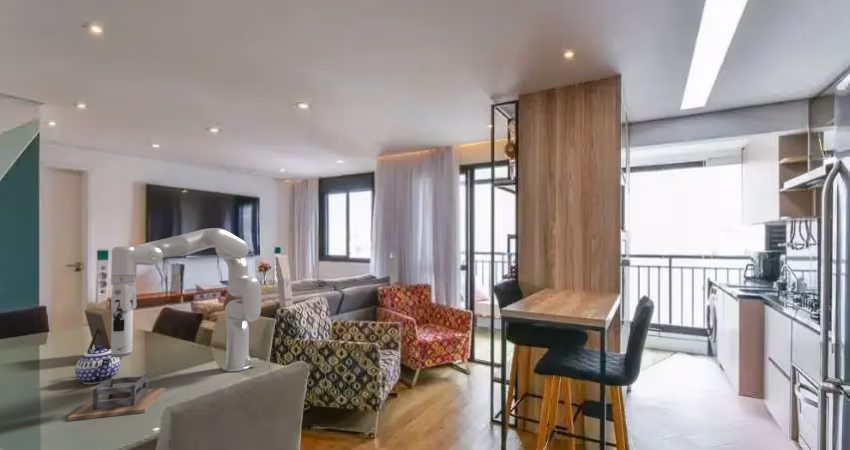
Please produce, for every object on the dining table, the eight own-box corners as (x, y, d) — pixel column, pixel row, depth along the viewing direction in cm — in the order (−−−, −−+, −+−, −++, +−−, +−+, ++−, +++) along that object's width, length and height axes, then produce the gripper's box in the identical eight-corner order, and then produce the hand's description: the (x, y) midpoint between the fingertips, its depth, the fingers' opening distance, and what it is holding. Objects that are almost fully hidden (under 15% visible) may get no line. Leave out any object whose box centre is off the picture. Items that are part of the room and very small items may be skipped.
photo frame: (106, 352, 220) (107, 305, 221) (124, 358, 208) (125, 308, 209) (71, 359, 207) (72, 309, 208) (88, 365, 195) (89, 313, 196)
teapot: (68, 379, 177) (69, 344, 177) (110, 370, 188) (111, 338, 189) (82, 391, 161) (83, 353, 162) (128, 381, 173) (128, 346, 173)
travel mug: (121, 358, 145) (122, 301, 146) (106, 357, 146) (107, 301, 147) (137, 353, 151) (138, 299, 152) (122, 352, 153) (123, 298, 153)
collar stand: (165, 390, 162) (165, 370, 162) (144, 412, 141) (145, 389, 141) (99, 396, 156) (100, 375, 156) (68, 421, 135) (68, 396, 135)
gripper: (125, 281, 143) (124, 333, 142) (144, 277, 159) (143, 323, 159) (100, 282, 141) (99, 335, 140) (121, 278, 157) (120, 325, 156)
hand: (122, 328), depth 149 cm, fingers closed on travel mug, 6 cm apart
